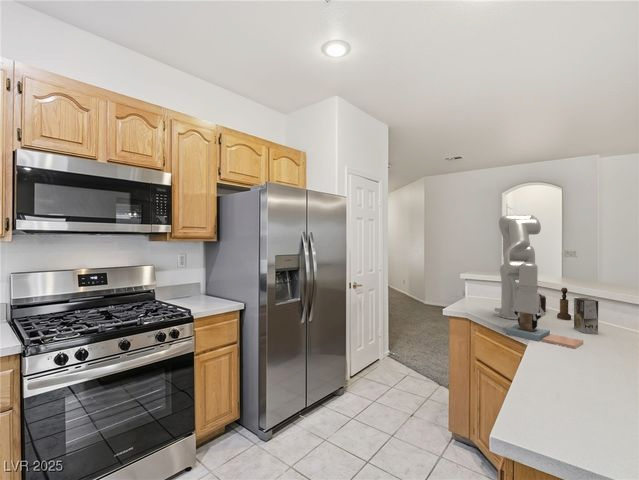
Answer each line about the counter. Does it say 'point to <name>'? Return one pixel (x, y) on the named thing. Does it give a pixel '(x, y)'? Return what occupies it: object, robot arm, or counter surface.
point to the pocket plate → (527, 333)
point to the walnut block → (526, 322)
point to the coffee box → (586, 315)
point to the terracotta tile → (563, 341)
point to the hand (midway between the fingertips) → (527, 326)
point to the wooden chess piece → (564, 307)
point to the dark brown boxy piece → (542, 301)
